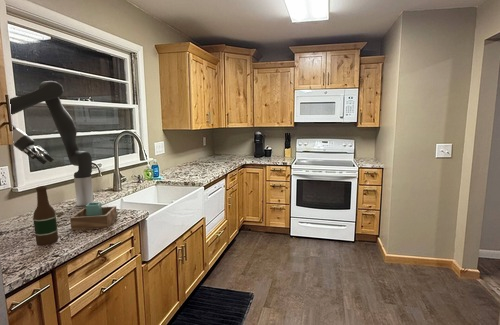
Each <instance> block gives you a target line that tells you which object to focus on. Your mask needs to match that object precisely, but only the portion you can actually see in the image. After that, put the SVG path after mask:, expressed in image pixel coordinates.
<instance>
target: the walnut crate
mask: <svg viewBox="0 0 500 325" xmlns="http://www.w3.org/2000/svg"><path fill="white" fill-rule="evenodd" d="M117 218H118V214H117V206H116V205H114V206H102V215H100V216H87V214H86V207H84V208H82V209H80V210H79V211H78V212H76V213H75V214H74V215H72V216H71V217H69V220H70V231H83V230H93V229H95V230H96V229H107V228H109V227H110V226H111V225H112V224H113V222H114V221H115V220H116V219H117Z"/></svg>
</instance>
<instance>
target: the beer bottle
mask: <svg viewBox="0 0 500 325" xmlns="http://www.w3.org/2000/svg"><path fill="white" fill-rule="evenodd" d="M47 189H48V187H47V186H45V185H42V186H41V185H40V186H37V187H35V191H36V199H37V200H36V201H37V205H36V208H35V209H34V212H33V216H32V217H33V219H32V220H33V227H34V235H35V242H36V245H37V246H41V247H42V246H43V247H44V246H49V245H52V244H55V243H58V239H59V234H58V223H57V215H56V211H55V208H54V207H53V206H52V205H51V204H50V201H49V197H48V191H47Z"/></svg>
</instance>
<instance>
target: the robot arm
mask: <svg viewBox="0 0 500 325" xmlns="http://www.w3.org/2000/svg"><path fill="white" fill-rule="evenodd" d="M63 94H64V87H63V85H62V84H61V83H59V82H57V81H55V80H54V81H53V80H48V81H47V80H46V81H42V82H41V83H40V84H39V86H38V88H37V89H36V90H34V91H31V92H29V93H28V92H27V93H25V94H21V95H18V96H17V95H16V96H14V97H11V98H9V99H10V104H11V114H12V115H11V116H13V115H16V114H18V113H19V112H20V113H21V112H22V111H24V110H27V109H28V108H31V107H34V106H35V105H38V104H40V103H43V102H45V105H46V106H47V108H48V110H49V113H50V114H51V118H52V120H53V122H54V124H55V127H56V129H57V132H58V134H59V136H60V138H61V141H62V143H63V146H64V148H65V151H66V155H67V158H68V162H69V163H70V164H71V165H73V166H75V167H78V168H77V171H76V172H74V173H73V180H74V181H73V182H74V188H75V189H74V191H75V201H76V206H77V207H78V206H79V207H86V205H87V204H88V203H95V201H94V190H93V182H92V181H93V180H92V179H93V178H92V172H93V160H92V159H93V158H92V156H91V153H90V152H89V151H85V150H84V151H83V150H80V149H79V147H78V144H77V140H76V139H77V134H78V133H77V132H78V131H77V126H76V124H75V122H74V120H73V118H72V116H71V115H70V114H69V112H68V111H67V110H66V108H65V107H64V106H63V103H62V101H61V99H60V97H62V96H63ZM12 126H13V141H14V143H13V144H11V145H12V146H13V147H15V148H16V149H18V150H19V151H21V153H22V152H23V153H24V154H25V155H27V156H28V157H29V158H31V159H32V160H36V161H38V162H39V163H41V164H42V165H46V164H47V163H48V162H49V163H52V162H54V160H55V158H54V157H52V156H51V155H50V154H49V152H48V151H47V150H45V149H44V148H43V147H42V146H40V145H35V140H34V139H33V138H31V137H30V136H29V135H28V134H26V133H25V132H24V131H23V130H21V129H19V127H16V126H15V125H13V124H12Z"/></svg>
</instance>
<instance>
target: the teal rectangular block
mask: <svg viewBox="0 0 500 325" xmlns="http://www.w3.org/2000/svg"><path fill="white" fill-rule="evenodd" d="M102 207H103V206H102V202H101V201H97V202H94V203H88V204H87V205H86V206H85V208H86V214H87V216H100V215H102Z"/></svg>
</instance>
